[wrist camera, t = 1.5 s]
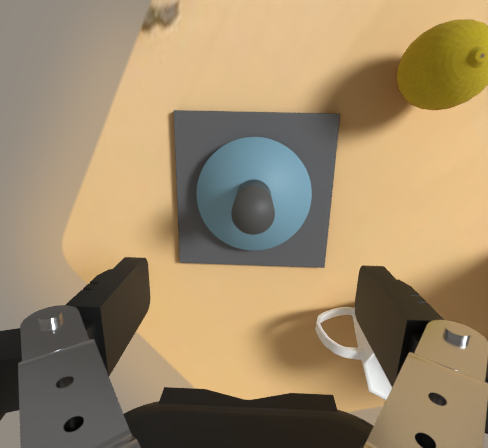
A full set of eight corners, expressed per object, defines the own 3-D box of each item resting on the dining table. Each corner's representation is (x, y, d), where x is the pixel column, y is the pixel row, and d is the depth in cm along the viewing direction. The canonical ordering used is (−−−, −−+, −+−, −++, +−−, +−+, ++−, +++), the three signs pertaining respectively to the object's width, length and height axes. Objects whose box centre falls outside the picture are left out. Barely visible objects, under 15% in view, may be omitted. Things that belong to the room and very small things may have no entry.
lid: (197, 135, 27) (177, 137, 20) (313, 137, 27) (333, 140, 20) (200, 244, 30) (183, 278, 23) (305, 247, 30) (320, 282, 23)
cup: (396, 346, 33) (439, 411, 26) (303, 333, 33) (317, 395, 26) (416, 287, 31) (468, 339, 24) (316, 273, 31) (335, 320, 24)
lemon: (393, 124, 27) (447, 122, 19) (372, 59, 26) (421, 29, 18) (458, 94, 26) (542, 79, 19) (440, 25, 25) (522, -21, 17)
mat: (175, 110, 27) (173, 110, 27) (338, 114, 27) (340, 113, 26) (181, 260, 31) (179, 262, 31) (323, 265, 31) (324, 267, 30)
